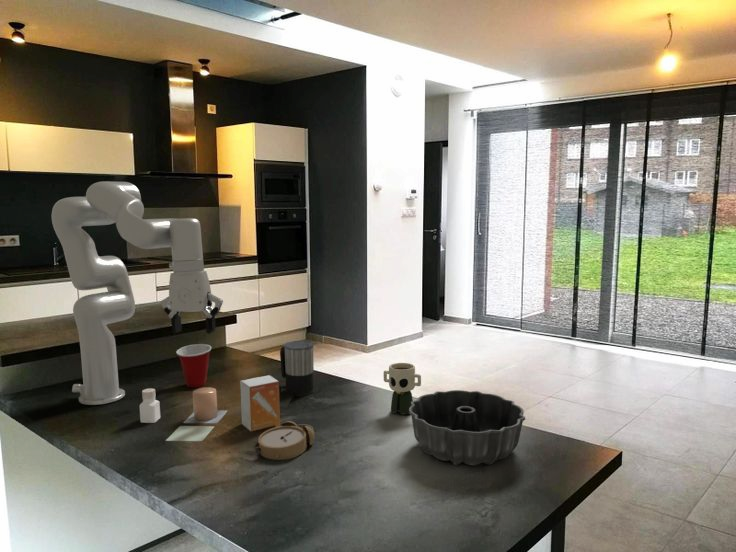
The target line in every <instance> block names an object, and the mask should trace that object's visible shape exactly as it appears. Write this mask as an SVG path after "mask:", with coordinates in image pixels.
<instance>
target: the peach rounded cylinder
mask: <svg viewBox="0 0 736 552" xmlns="http://www.w3.org/2000/svg"><path fill="white" fill-rule="evenodd" d="M217 397H218V395H217V389H216V388H215V387H210V386H209V387H199V388H197V389H195V390H193V391H192V402H193V403H192V405H193V406H192V407H193V412H194V419H195V420H198V421H207V420H212V419H214V418H216V417H217V416H218V413H217V410H218V398H217Z"/></svg>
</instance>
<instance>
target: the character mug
mask: <svg viewBox="0 0 736 552" xmlns="http://www.w3.org/2000/svg"><path fill="white" fill-rule="evenodd" d="M416 379H417V382H416ZM383 382H385V383H388V385H389V388H390V390H392V391H393V393H392V395H391V396H392V397H391V403H390V412H391V413H394V414H398V413H397V412H399V415H407V414H410V413H409V408H410V407H411V402H412V401H414V398H413V394H412V391H414V389H415V387H421V386H422V375H421V374H418V373H416V366H415V365H414V364H413V363H409V362H396V363H395V362H394V363H392V364H390V365H389V366H388V370H383Z"/></svg>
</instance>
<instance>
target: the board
mask: <svg viewBox="0 0 736 552" xmlns="http://www.w3.org/2000/svg"><path fill="white" fill-rule="evenodd" d="M217 413H218V416H217V417H216V418H214V419H212V420H207V421H198V420H195V419H194V411H193V412H192V413H191V414H190V415H189V416H188V417H187V418H186V419H185V420H184V421H183V422H182V423H183V424H218V423H219V422H220V421H221V419H222V418H223V417H224V416H225V415H226V413H228V410H218V409H217ZM214 428H215V426H213V425H212V426H210V425H208V426H207V425H206V426H205V425H179V426H178V427H177V428H176V429H175V430H174V431H173V432H172V434H171V435H169V437H168V438H166V439H165V442H203V441H204V440H205V439H206V437H207V436H208V435H209V434H210V433H211V432H212V430H213V429H214Z"/></svg>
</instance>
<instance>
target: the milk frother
mask: <svg viewBox="0 0 736 552" xmlns="http://www.w3.org/2000/svg"><path fill="white" fill-rule="evenodd" d="M314 346H315V343H314V342H312V341H308V340H307V341H306V340H294V341H289V342H288V341H287V342H286V343H284V344H283V346H281V348H280V350H279V358H280V371H281V377H282V378H283V379H285V386H282V385H280V384H279V393H281V392H282V389H284V393H293V394H292V395H293V396H295V397H296V396H297V397H300V396H308V395H312V394H313V393H314V392H315V391H316V388H315V380H314V379H315V378H314V376H315V375H314V374H315V373H314V369H315V368H314V367H315V366H314Z"/></svg>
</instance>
